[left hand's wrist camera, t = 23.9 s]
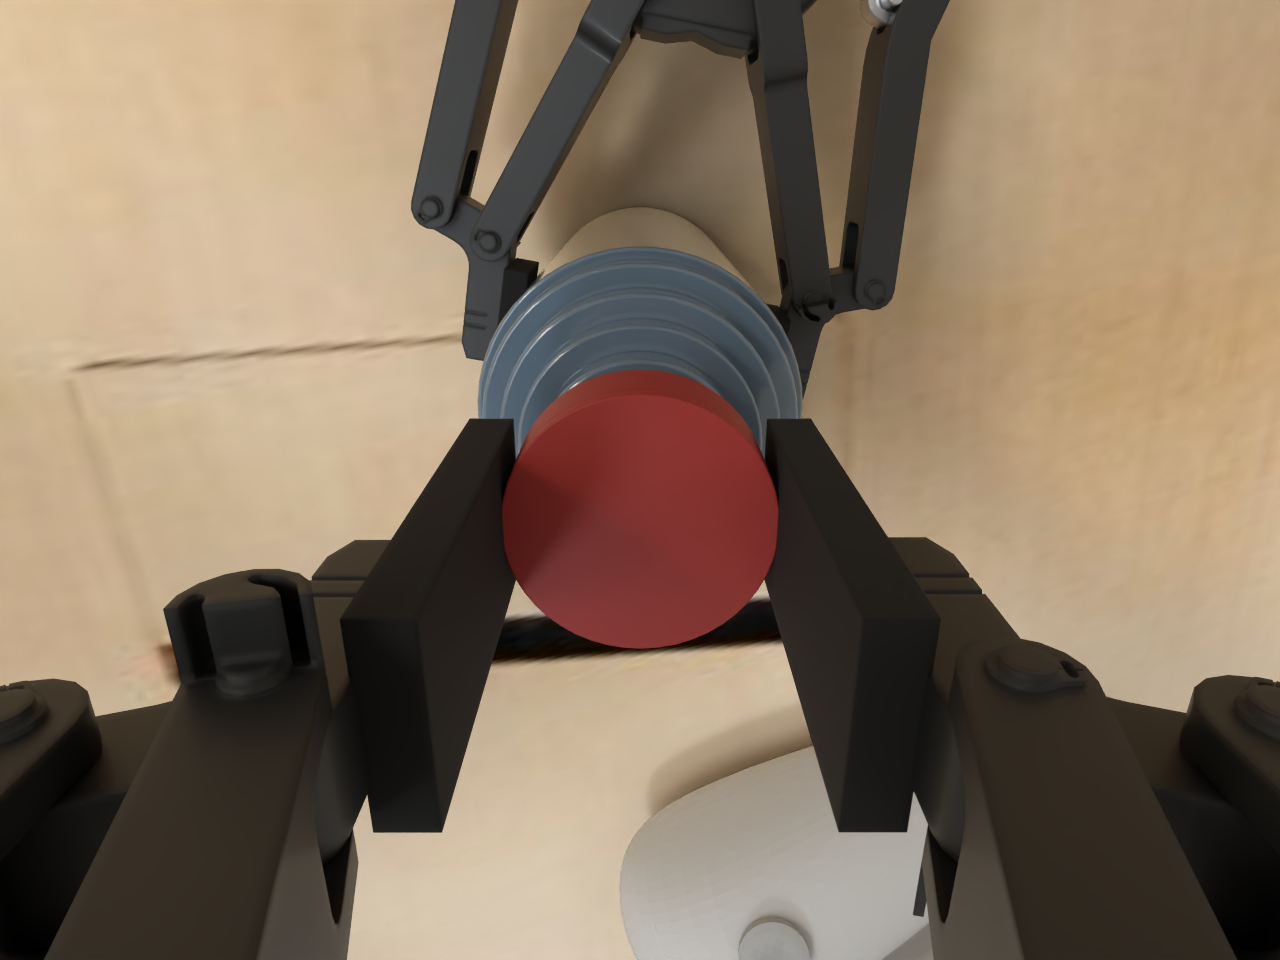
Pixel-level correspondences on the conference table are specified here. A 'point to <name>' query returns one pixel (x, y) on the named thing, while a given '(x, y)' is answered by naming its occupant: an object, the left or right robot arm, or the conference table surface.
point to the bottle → (640, 324)
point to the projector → (771, 875)
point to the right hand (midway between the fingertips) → (615, 472)
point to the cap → (640, 510)
